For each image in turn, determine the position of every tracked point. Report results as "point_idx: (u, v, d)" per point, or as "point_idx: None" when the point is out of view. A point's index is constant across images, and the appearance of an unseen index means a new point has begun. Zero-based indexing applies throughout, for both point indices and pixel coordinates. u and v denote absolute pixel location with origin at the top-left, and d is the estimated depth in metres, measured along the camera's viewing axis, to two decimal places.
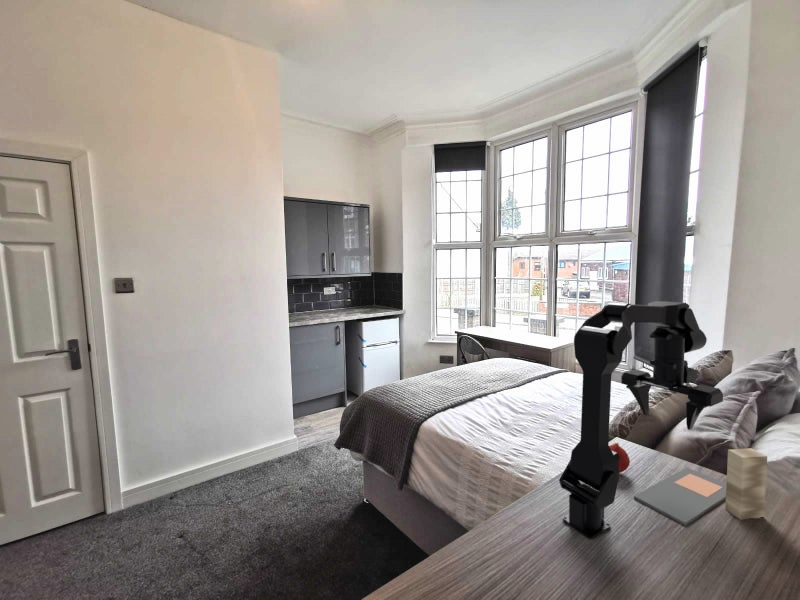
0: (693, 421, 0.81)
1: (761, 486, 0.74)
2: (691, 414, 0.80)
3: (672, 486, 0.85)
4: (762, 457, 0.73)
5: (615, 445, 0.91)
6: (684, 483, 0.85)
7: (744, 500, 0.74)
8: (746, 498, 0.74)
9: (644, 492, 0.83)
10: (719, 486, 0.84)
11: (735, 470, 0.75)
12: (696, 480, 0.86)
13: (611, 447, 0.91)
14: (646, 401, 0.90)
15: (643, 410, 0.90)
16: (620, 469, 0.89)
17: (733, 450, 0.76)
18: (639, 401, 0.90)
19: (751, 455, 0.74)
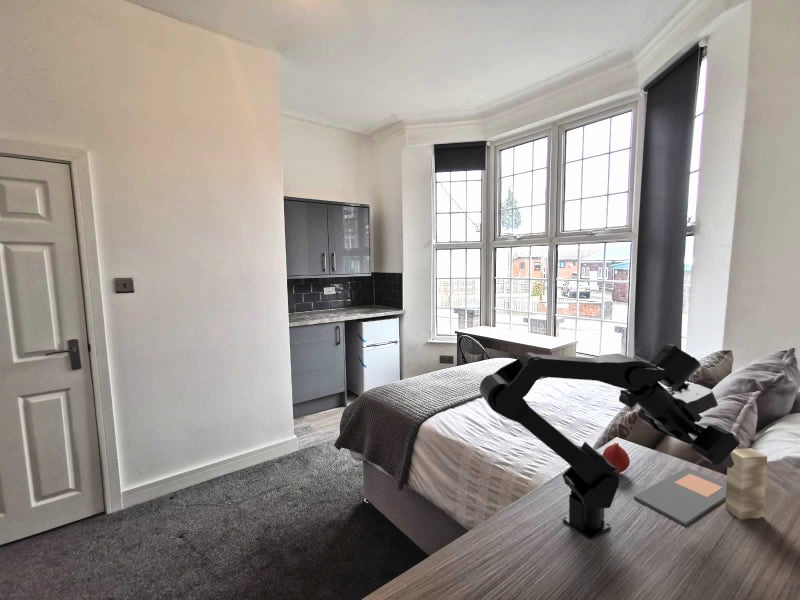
0: (726, 462, 0.69)
1: (761, 486, 0.74)
2: None
3: (672, 486, 0.85)
4: (762, 457, 0.73)
5: (615, 445, 0.91)
6: (684, 483, 0.85)
7: (744, 500, 0.74)
8: (746, 498, 0.74)
9: (644, 492, 0.83)
10: (719, 486, 0.84)
11: (735, 470, 0.75)
12: (696, 480, 0.86)
13: (611, 447, 0.91)
14: None
15: (683, 441, 0.79)
16: (620, 469, 0.89)
17: (733, 450, 0.76)
18: (671, 436, 0.79)
19: (751, 455, 0.74)
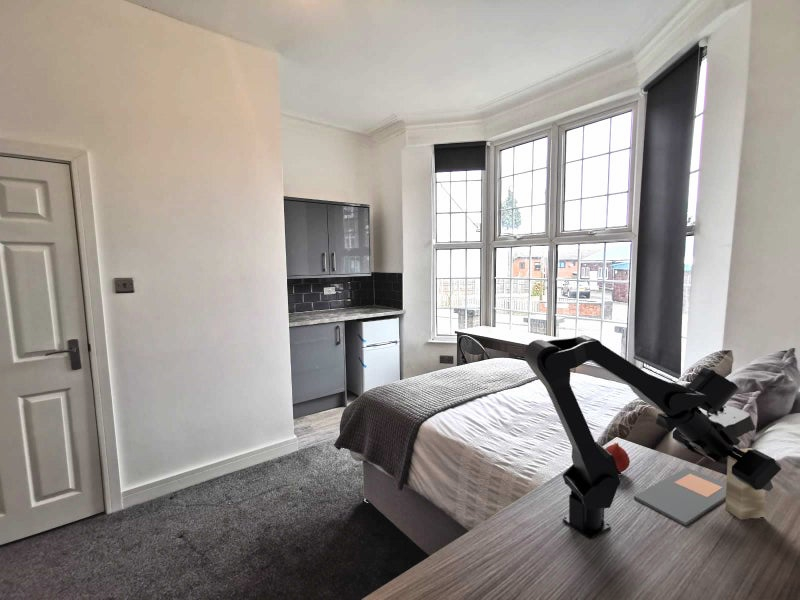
0: (766, 485, 0.70)
1: None
2: None
3: (672, 486, 0.85)
4: None
5: (615, 445, 0.91)
6: (684, 483, 0.85)
7: (744, 500, 0.74)
8: (746, 498, 0.74)
9: (644, 492, 0.83)
10: (719, 486, 0.84)
11: None
12: (696, 480, 0.86)
13: (611, 447, 0.91)
14: None
15: (718, 462, 0.80)
16: (620, 469, 0.89)
17: None
18: (706, 457, 0.80)
19: None
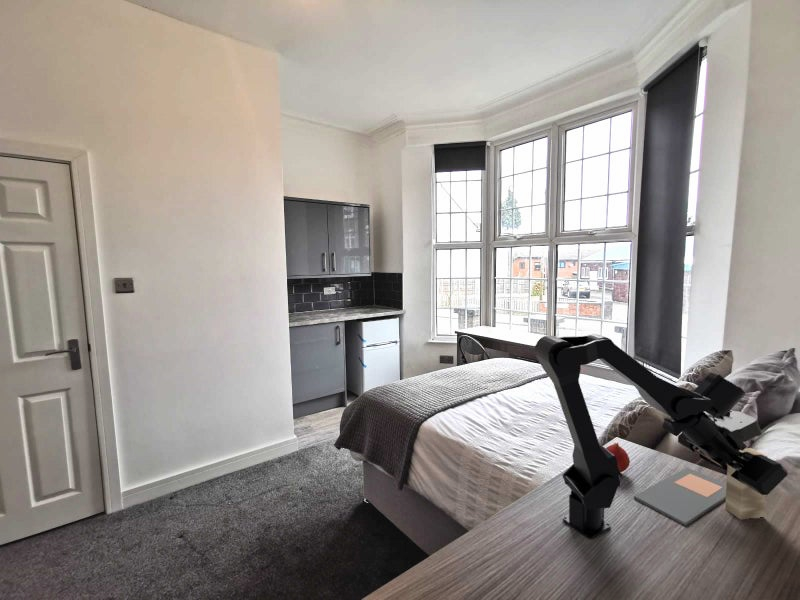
0: None
1: None
2: None
3: (672, 486, 0.85)
4: None
5: (615, 445, 0.91)
6: (684, 483, 0.85)
7: (744, 500, 0.74)
8: (746, 498, 0.74)
9: (644, 492, 0.83)
10: (719, 486, 0.84)
11: (735, 470, 0.75)
12: (696, 480, 0.86)
13: (611, 447, 0.91)
14: None
15: None
16: (620, 469, 0.89)
17: None
18: (723, 468, 0.77)
19: None
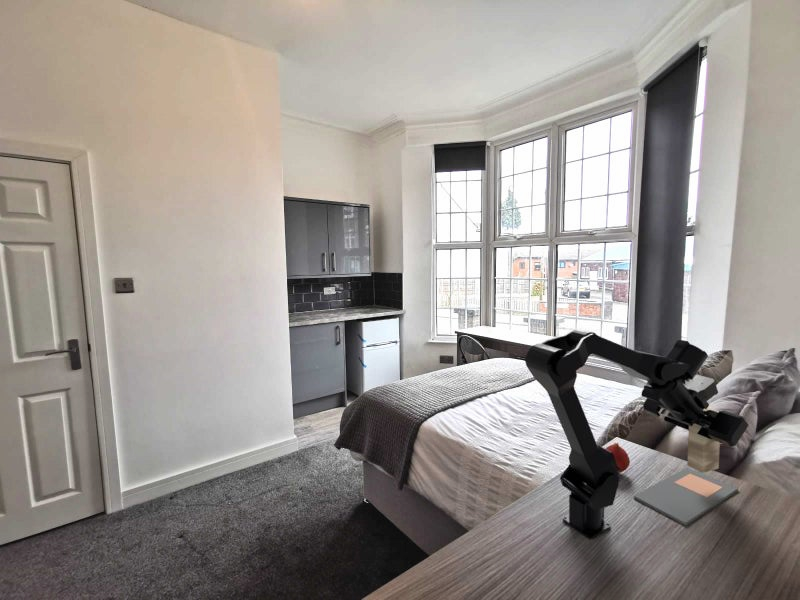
0: None
1: None
2: None
3: (672, 486, 0.85)
4: None
5: (615, 445, 0.91)
6: (684, 483, 0.85)
7: (705, 455, 0.81)
8: (706, 452, 0.81)
9: (644, 492, 0.83)
10: (719, 486, 0.84)
11: (697, 428, 0.82)
12: (696, 480, 0.86)
13: (611, 447, 0.91)
14: None
15: None
16: (620, 469, 0.89)
17: None
18: (685, 428, 0.84)
19: None
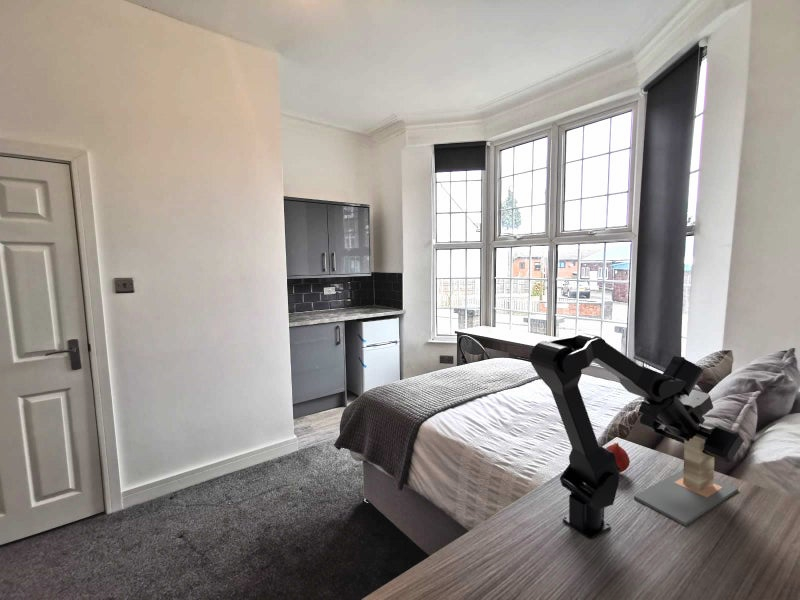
0: None
1: (711, 458, 0.83)
2: None
3: (672, 486, 0.85)
4: None
5: (615, 445, 0.91)
6: None
7: (701, 473, 0.82)
8: (702, 471, 0.82)
9: (644, 492, 0.83)
10: (719, 486, 0.84)
11: (692, 447, 0.83)
12: None
13: (611, 447, 0.91)
14: None
15: (682, 442, 0.87)
16: (620, 469, 0.89)
17: None
18: (673, 439, 0.87)
19: None
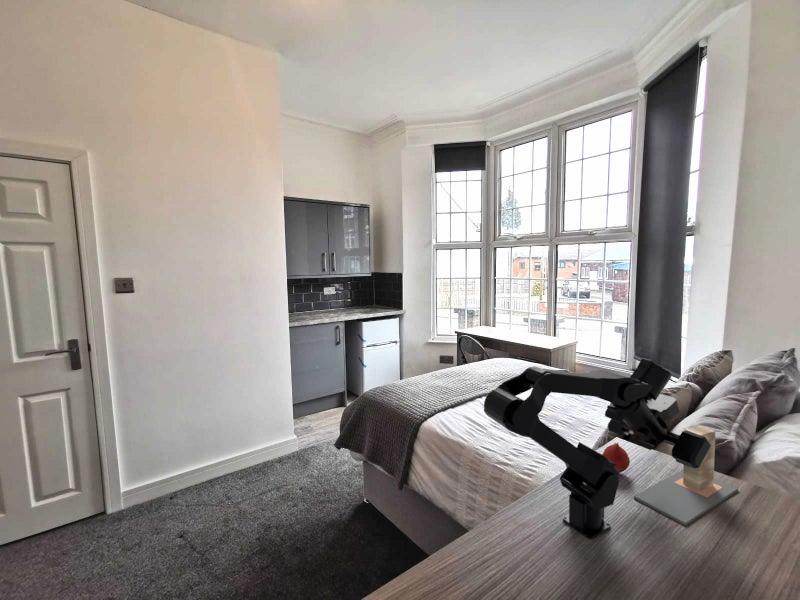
0: None
1: (711, 458, 0.83)
2: None
3: (672, 486, 0.85)
4: (712, 432, 0.82)
5: (615, 445, 0.91)
6: None
7: (701, 473, 0.82)
8: (702, 471, 0.82)
9: (644, 492, 0.83)
10: (719, 486, 0.84)
11: None
12: None
13: (611, 447, 0.91)
14: None
15: (646, 448, 0.85)
16: (620, 469, 0.89)
17: (689, 429, 0.84)
18: (637, 444, 0.85)
19: (704, 431, 0.83)
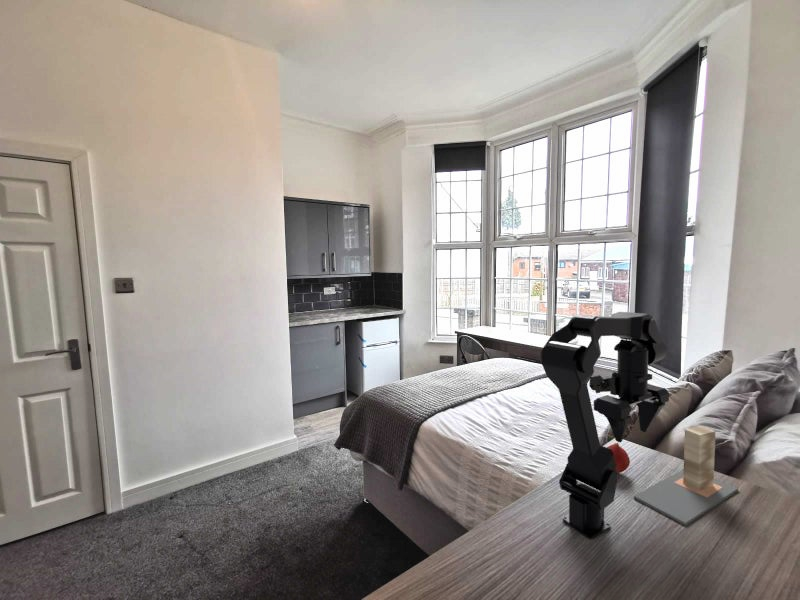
0: None
1: (711, 458, 0.83)
2: (656, 415, 0.84)
3: (672, 486, 0.85)
4: (712, 432, 0.82)
5: (615, 445, 0.91)
6: None
7: (701, 473, 0.82)
8: (702, 471, 0.82)
9: (644, 492, 0.83)
10: (719, 486, 0.84)
11: (692, 447, 0.83)
12: None
13: (611, 447, 0.91)
14: None
15: (622, 437, 0.80)
16: (620, 469, 0.89)
17: (689, 429, 0.84)
18: (625, 429, 0.79)
19: (704, 431, 0.83)
